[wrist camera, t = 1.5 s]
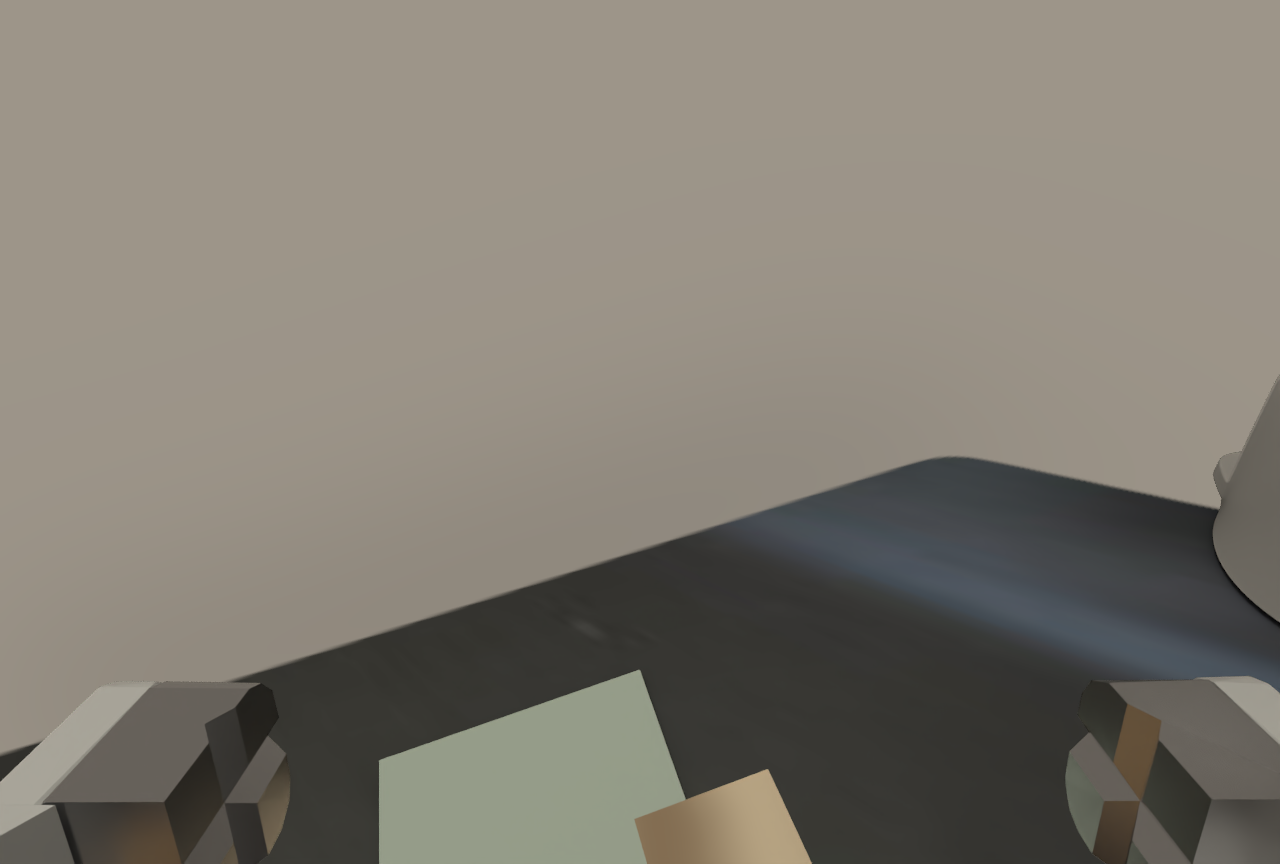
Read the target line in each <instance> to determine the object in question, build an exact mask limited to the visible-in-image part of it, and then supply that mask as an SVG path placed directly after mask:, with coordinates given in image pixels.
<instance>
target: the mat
mask: <svg viewBox="0 0 1280 864" xmlns="http://www.w3.org/2000/svg"><path fill="white" fill-rule="evenodd" d="M684 800H686V799H685V796H684V793H683V791H682V788H681V785H680V782H679V779H678V776H677V774H676V771H675V768H674V765H673V762H672V759H671V757H670V754H669V751H668V748H667V745H666V743H665V740H664V737H663V734H662V731H661V728H660V726H659V723H658V720H657V717H656V714H655V711H654V709H653V706H652V703H651V700H650V697H649V694H648V692H647V689H646V686H645V683H644V680H643V678H642V675H641V672H640V670H637V671H634V672H632V673H629V674H626V675H623V676H620V677H617V678H614V679H612V680H609V681H606V682H603V683H600V684H597V685H594V686H591V687H589V688H586V689H583V690H580V691H577V692H574V693H571V694H568V695H566V696H563V697H560V698H557V699H554V700H551V701H548V702H545V703H543V704H540V705H537V706H534V707H531V708H528V709H525V710H522V711H520V712H517V713H514V714H511V715H508V716H505V717H502V718H500V719H497V720H494V721H491V722H488V723H485V724H482V725H479V726H477V727H474V728H471V729H468V730H465V731H462V732H459V733H456V734H454V735H451V736H448V737H445V738H442V739H439V740H436V741H433V742H431V743H428V744H425V745H422V746H419V747H416V748H413V749H411V750H408V751H405V752H402V753H399V754H396V755H393V756H390V757H388V758H385V759H382V760H379V864H647V862H646V858H645V855H644V851H643V848H642V844H641V841H640V837H639V834H638V831H637V827H636V824H635V820H634V819H636V818H639V817H641V816H644V815H647V814H649V813H652V812H655V811H657V810H660V809H663V808H665V807H668V806H671V805H673V804H676V803H679V802H681V801H684Z"/></svg>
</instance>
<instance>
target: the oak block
mask: <svg viewBox="0 0 1280 864" xmlns="http://www.w3.org/2000/svg"><path fill="white" fill-rule="evenodd" d="M634 820H635V824H636V827H637V831H638V834H639V837H640V841H641V844H642V848H643V851H644V855H645V858H646V862H647V864H812V863H811V861H810V858H809V856H808V854H807V852H806V850H805V848H804V846H803V843H802V841H801V839H800V837H799V835H798V833H797V830H796V828H795V826H794V824H793V822H792V820H791V818H790V815H789V813H788V811H787V809H786V807H785V805H784V803H783V800H782V798H781V796H780V794H779V792H778V790H777V788H776V785H775V783H774V781H773V779H772V777H771V775H770V772H769V770H768V769H767V770H764V771H762V772H759V773H756V774H754V775H751V776H748V777H745V778H743V779H740V780H737V781H735V782H732V783H729V784H727V785H724V786H721V787H719V788H716V789H713V790H711V791H708V792H705V793H703V794H700V795H697V796H695V797H692V798H689V799H687V800H684V801H681V802H679V803H676V804H673V805H671V806H668V807H665V808H663V809H660V810H657V811H655V812H652V813H649V814H647V815H644V816H641V817H639V818H636V819H634Z"/></svg>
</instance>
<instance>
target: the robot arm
mask: <svg viewBox="0 0 1280 864" xmlns="http://www.w3.org/2000/svg"><path fill="white" fill-rule="evenodd" d="M1213 476H1214V481H1215V484H1216V487H1217V489H1218V492H1219V494H1220V496H1221V498H1222V500H1221V506H1220V509H1219V512H1218V514H1217V517H1216V519H1215V522H1214V526H1213V542H1214V547H1215V551H1216V554H1217V556H1218V558H1219V561H1220V562H1221V564H1222V566H1223V568H1224V569H1225V571H1226V572H1227V574H1228V575H1229V577H1230V578H1231V579H1232V581H1233V582H1234V583H1235V584H1236V585H1237V586H1238V588H1239V589H1240V590H1241V591H1242V592H1243V593H1244V594H1245V595H1246V596H1247V597H1248V598H1249V599H1250V600H1252V601H1253V602H1254V603H1255V604H1256V605H1257V606H1258V607H1260V608H1261V609H1262V610H1263V611H1265V612H1266V613H1267V614H1269V615H1270V616H1271V617H1273V618H1274V619H1276V620H1277V621H1279V622H1280V375H1279V376H1278V378H1277V379H1276V381H1275V383H1274V385H1273V387H1272V389H1271V391H1270V394H1269V395H1268V397H1267V399H1266V402H1265V404H1264V406H1263V408H1262V410H1261V412H1260V414H1259V416H1258V418H1257V420H1256V422H1255V424H1254V426H1253V429H1252V430H1251V433H1250V435H1249V437H1248V439H1247V441H1246V443H1245V445H1244V448H1243V450H1242V451H1241V452H1235V453H1230V454H1227V455H1225V456H1223V457H1222V458H1220V460H1219V462H1218V464H1217V466H1216V468H1215V470H1214V473H1213ZM1077 715H1078V717H1079V718H1080V720H1081V721H1082V723H1083V724H1084V726H1085V727H1086V729H1087V730H1088V732H1089V733H1088V734H1087V735H1086V736H1085V737H1084V738H1083V739H1082V740H1081V741H1080V742H1079V743H1078V744H1077V745H1076V746H1075V747H1074V748H1073V749H1072V750H1070V751H1069V758H1068V764H1067V770H1066V776H1065V783H1066V790H1067V797H1068V803H1069V809H1070V812H1071V814H1072V817H1073V819H1074V822H1075V824H1076V827H1077V830H1078V832H1079V833H1080V835H1081V837H1082V838H1083V840H1084V841H1085V843H1086V845H1087V846H1088V848H1089V850H1090V851H1091V853H1092V854H1093V855H1094V856H1096V857H1097V858H1099V859H1100V860H1102V861H1103V862H1105V863H1106V864H1280V693H1279V692H1278V691H1276V690H1275V689H1274V688H1273V687H1272V686H1270V685H1269V684H1268V683H1265V682H1263V681H1260V680H1258V679H1255V678H1253V677H1250V676H1234V677H1203V678H1195V679H1194V680H1091V682H1090V683H1089V685H1088V686H1087V687H1086V689H1085V690H1084V692H1083V693H1082V696H1081V701H1080V705H1079V709H1078V714H1077ZM278 719H279V715H278V711H277V707H276V703H275V699H274V695H273V691H272V690H271V689H269V688H268V687H266V686H265V685H263V684H262V683H224V682H168V681H166V682H163V683H161V682H114V683H110V684H107V685H104V686H101V687H99V688H98V689H97V690H96V691H95V692H94V693H92V694H91V695H90V696H89V697H88V698H87V699H86V700H85V701H84V702H83V703H82V704H81V705H80V706H79V707H78V708H77V709H76V710H75V711H74V712H73V713H72V714H71V715H70V716H69V717H67V718H66V719H65V720H64V721H63V722H62V723H61V724H60V725H59V726H58V727H57V728H56V729H55V730H54V731H53V732H52V733H51V734H50V735H49V736H48V737H47V738H46V739H45V740H44V741H43V742H41V743H40V744H39V745H38V746H37V747H36V748H35V749H34V750H33V751H32V752H31V753H30V754H29V755H28V756H27V757H26V758H25V759H24V760H23V761H22V762H21V763H20V764H19V765H18V766H16V767H15V768H14V769H13V770H12V771H11V772H10V773H9V774H8V775H7V776H6V777H5V778H4V779H3V780H2V781H1V782H0V864H257V863H259V862H260V861H261V860H263V859H264V858H265V857H267V856H268V855H269V853H270V851H271V849H272V847H273V845H274V843H275V841H276V839H277V837H278V835H279V833H280V831H281V830H282V826H283V822H284V818H285V814H286V810H287V806H288V802H289V799H290V771H289V766H288V760H287V755H286V753H285V752H284V751H283V750H282V749H281V748H280V747H279V746H278V745H277V744H276V743H275V742H273V741H272V740H271V739H270V738H269V737H268V734H269V733H270V731H271V729H272V728H273V726H274V725H275V723H276V722H277V720H278Z"/></svg>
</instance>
